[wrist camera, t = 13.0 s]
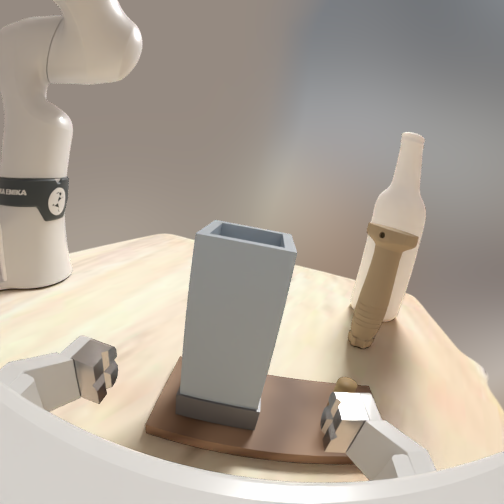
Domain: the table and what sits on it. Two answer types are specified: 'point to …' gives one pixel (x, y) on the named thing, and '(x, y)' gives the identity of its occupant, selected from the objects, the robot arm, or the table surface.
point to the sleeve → (232, 321)
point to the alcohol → (398, 219)
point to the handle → (378, 282)
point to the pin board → (260, 421)
